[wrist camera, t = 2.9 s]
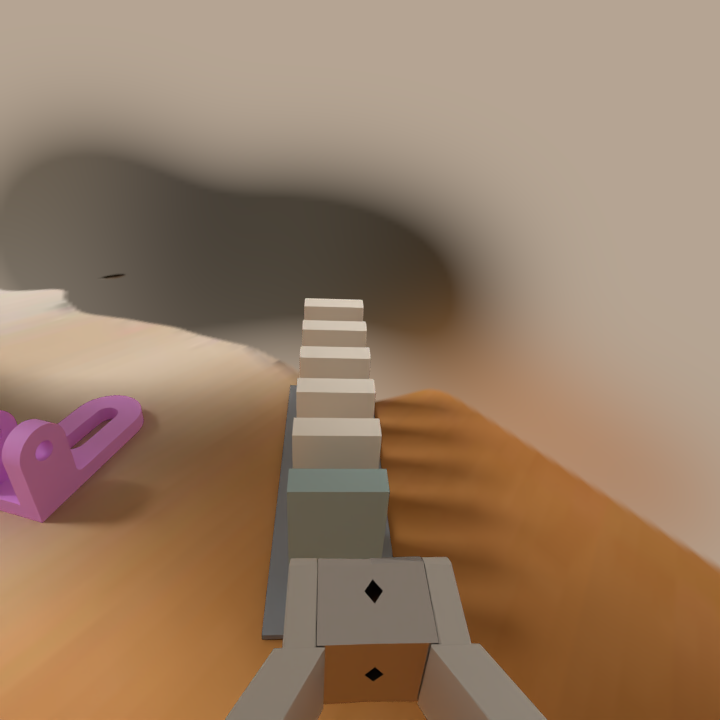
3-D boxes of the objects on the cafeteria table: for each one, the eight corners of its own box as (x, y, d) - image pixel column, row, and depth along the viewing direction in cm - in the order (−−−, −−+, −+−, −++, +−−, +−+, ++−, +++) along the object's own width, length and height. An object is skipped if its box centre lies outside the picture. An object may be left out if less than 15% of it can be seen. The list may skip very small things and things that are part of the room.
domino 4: (365, 504, 37) (375, 393, 31) (297, 504, 36) (296, 391, 31) (364, 488, 38) (373, 379, 33) (298, 488, 38) (297, 377, 32)
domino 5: (369, 552, 33) (381, 436, 28) (294, 553, 33) (292, 435, 27) (368, 532, 34) (379, 418, 29) (295, 533, 34) (293, 417, 29)
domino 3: (362, 464, 40) (370, 358, 35) (300, 464, 40) (299, 357, 35) (361, 451, 42) (369, 347, 36) (301, 450, 41) (300, 346, 36)
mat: (401, 636, 29) (402, 632, 29) (262, 639, 28) (261, 635, 28) (370, 389, 50) (370, 386, 50) (290, 388, 49) (290, 385, 49)
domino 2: (359, 431, 44) (366, 330, 39) (302, 430, 43) (302, 329, 38) (358, 420, 45) (365, 321, 40) (303, 419, 45) (303, 320, 40)
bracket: (43, 524, 34) (12, 447, 31) (-23, 504, 35) (-60, 427, 32) (156, 415, 45) (144, 348, 41) (104, 402, 46) (87, 336, 43)
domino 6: (374, 612, 29) (389, 492, 24) (290, 614, 29) (286, 492, 24) (372, 588, 31) (386, 468, 26) (291, 589, 30) (288, 468, 25)
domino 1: (357, 403, 47) (363, 307, 42) (304, 402, 47) (304, 306, 42) (356, 393, 49) (362, 299, 44) (305, 392, 48) (305, 298, 43)
